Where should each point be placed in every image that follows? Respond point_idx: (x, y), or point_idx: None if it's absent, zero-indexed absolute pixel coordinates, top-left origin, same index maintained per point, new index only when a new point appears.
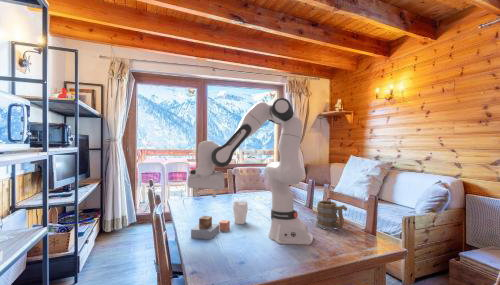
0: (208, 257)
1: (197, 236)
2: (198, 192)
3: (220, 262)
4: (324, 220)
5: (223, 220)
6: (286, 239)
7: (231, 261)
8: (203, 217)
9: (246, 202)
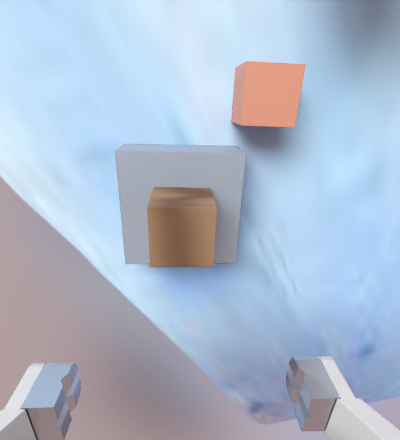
0: (268, 352)
1: None
2: (22, 416)
3: None
4: None
5: (257, 71)
6: None
7: (337, 353)
8: (167, 242)
9: None
